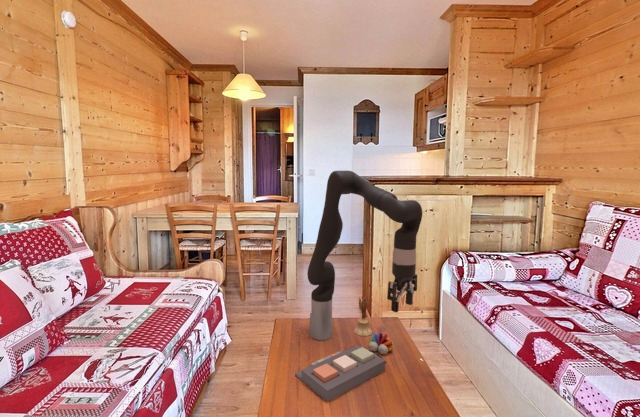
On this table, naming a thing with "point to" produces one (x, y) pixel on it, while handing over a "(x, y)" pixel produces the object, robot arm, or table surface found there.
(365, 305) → the hand bell
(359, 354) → the key sage
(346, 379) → the keypad
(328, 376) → the key terracotta
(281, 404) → the table surface
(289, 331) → the table surface
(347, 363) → the key cream
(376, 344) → the rainbow petal flower toy
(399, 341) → the table surface
